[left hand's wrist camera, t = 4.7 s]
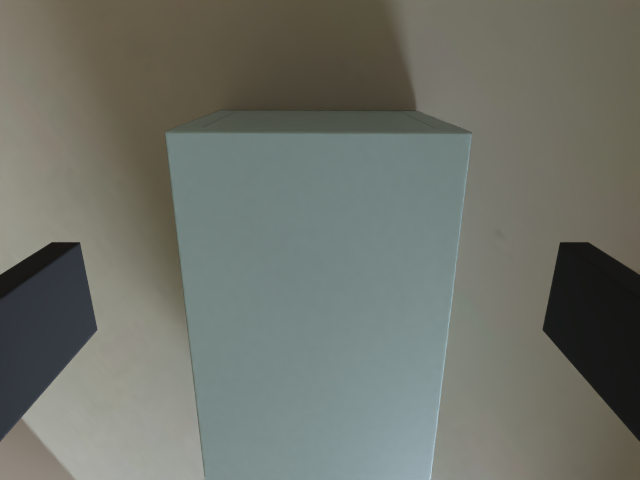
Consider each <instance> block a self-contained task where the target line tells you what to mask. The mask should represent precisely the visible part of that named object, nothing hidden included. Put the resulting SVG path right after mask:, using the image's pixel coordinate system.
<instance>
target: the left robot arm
mask: <svg viewBox="0 0 640 480" xmlns="http://www.w3.org/2000/svg"><path fill="white" fill-rule="evenodd" d="M96 331H97V326H96V321H95V316H94V311H93V306H92V301H91V296H90V291H89V286H88V281H87V276H86V271H85V266H84V261H83V256H82V251H81V246H80V242H52V243H50V244H48V245H47V246H45V247H44V248H42V249H41V250H39V251H37V252H36V253H34V254H33V255H31V256H29V257H28V258H26V259H25V260H23V261H21V262H20V263H18V264H17V265H15V266H13V267H12V268H10V269H9V270H7V271H6V272H4V273H2V274H1V275H0V441H1V440H2V439H3V438H4V437H5V436H6V434H7V433H8V432H9V431H10V430H11V429H12V427H13V426H14V425H15V424H16V423H17V422H18V421H19V419H20V418H21V417H22V416H23V415H24V414H25V413H26V411H27V410H28V409H29V408H30V407H31V406H32V404H33V403H34V402H35V401H36V400H37V399H38V398H39V396H40V395H41V394H42V393H43V392H44V391H45V390H46V388H47V387H48V386H49V385H50V384H51V383H52V381H53V380H54V379H55V378H56V377H57V376H58V375H59V373H60V372H61V371H62V370H63V369H64V368H65V367H66V365H67V364H68V363H69V362H70V361H71V360H72V358H73V357H74V356H75V355H76V354H77V353H78V352H79V350H80V349H81V348H82V347H83V346H84V345H85V344H86V342H87V341H88V340H89V339H90V338H91V337H92V335H93V334H94V333H95V332H96ZM543 331H544V332H545V333H546V334H547V335H548V337H549V338H550V339H551V340H552V341H553V342H554V344H555V345H556V346H557V347H558V348H559V349H560V350H561V352H562V353H563V354H564V355H565V356H566V357H567V358H568V360H569V361H570V362H571V363H572V364H573V365H574V367H575V368H576V369H577V370H578V371H579V372H580V373H581V375H582V376H583V377H584V378H585V379H586V380H587V381H588V383H589V384H590V385H591V386H592V387H593V388H594V390H595V391H596V392H597V393H598V394H599V395H600V396H601V398H602V399H603V400H604V401H605V402H606V403H607V404H608V406H609V407H610V408H611V409H612V410H613V411H614V413H615V414H616V415H617V416H618V417H619V418H620V419H621V421H622V422H623V423H624V424H625V425H626V426H627V428H628V429H629V430H630V431H631V432H632V433H633V434H634V436H635V437H636V438H637V439H638V440H639V441H640V275H639V274H638V273H636V272H634V271H633V270H631V269H630V268H628V267H627V266H625V265H623V264H622V263H620V262H619V261H617V260H615V259H614V258H612V257H611V256H609V255H607V254H606V253H604V252H603V251H601V250H599V249H598V248H596V247H595V246H593V245H592V244H590V243H588V242H560V246H559V251H558V256H557V261H556V266H555V271H554V276H553V281H552V286H551V291H550V296H549V301H548V306H547V311H546V316H545V321H544V326H543Z"/></svg>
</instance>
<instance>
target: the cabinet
mask: <svg viewBox="0 0 640 480" xmlns="http://www.w3.org/2000/svg"><path fill="white" fill-rule="evenodd" d="M471 137H472V133H471V132H469V131H467V130H464V129H462V128H459V127H457V126H454V125H452V124H449V123H447V122H444V121H442V120H439V119H436V118H434V117H431V116H429V115H426V114H424V113H422V112H419V111H227V110H220V111H217V112H215V113H212V114H209V115H207V116H204V117H201V118H199V119H196V120H193V121H191V122H188V123H185V124H183V125H180V126H177V127H175V128H173V129H170V130H167V131H165V139H166V148H167V156H168V165H169V173H170V182H171V191H172V199H173V208H174V217H175V225H176V234H177V242H178V251H179V260H180V268H181V277H182V286H183V294H184V303H185V312H186V320H187V329H188V337H189V346H190V355H191V363H192V372H193V381H194V389H195V398H196V406H197V415H198V424H199V432H200V441H201V450H202V458H203V467H204V475H205V480H430V479H431V471H432V463H433V454H434V446H435V438H436V429H437V421H438V413H439V404H440V396H441V388H442V379H443V371H444V363H445V354H446V346H447V337H448V329H449V321H450V312H451V304H452V296H453V287H454V279H455V271H456V262H457V254H458V246H459V237H460V229H461V220H462V212H463V204H464V195H465V187H466V179H467V170H468V162H469V154H470V145H471Z"/></svg>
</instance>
